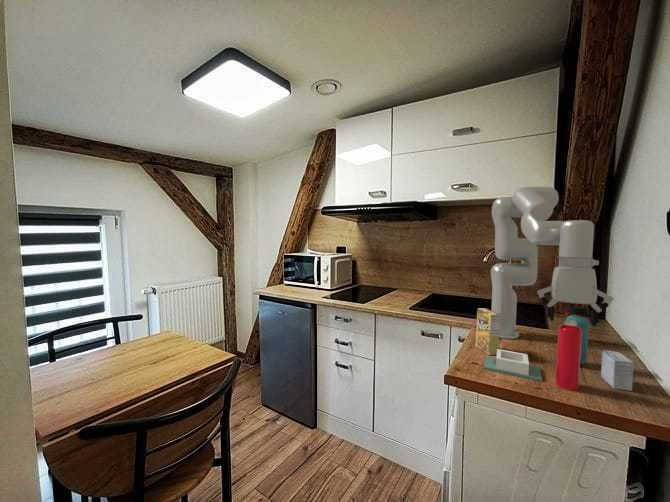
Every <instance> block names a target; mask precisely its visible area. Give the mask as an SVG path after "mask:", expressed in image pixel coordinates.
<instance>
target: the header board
mask: <svg viewBox="0 0 670 502" xmlns="http://www.w3.org/2000/svg"><path fill="white" fill-rule="evenodd" d="M483 370H486V371H492V372H495V373H496V372H497V373H501V374H504V375H510V376H514V377H517V378H518V377H519V378H523V379H529V380H533V381H538V382H541V383H542V382H543V376H542V371H541V368H540V366H538V365H534V364H530V361H529V357H528V353H523V352H522V353H521V352H515V351H511V350H506V349H497V355H493V356H490V355H485V356H484V362H483Z"/></svg>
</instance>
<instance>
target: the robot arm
mask: <svg viewBox="0 0 670 502" xmlns="http://www.w3.org/2000/svg"><path fill="white" fill-rule="evenodd" d="M559 199H560V197H559V193H558V191H557V190H556V189H555V188H553V187H552V186H551V187H550V186H524V187H521V188H518V189H517V190H515V191H514V193H513V194H512V196H503V197H499V198H497V199H495V200H494V201H493V203H492V205H491V217H492V221H493V224H494V230H495V231H494V233H495V234H494V255H495V257H496V258H497V259H499V260H503V261H504V260H505V261H520V262H521V263H517V262H516V263H515V262H512V263H511V262H502V263H501V262H498V263H495V264H494V265H493V266H491V269H490V279H491V288H492V289H491V291H492V292H491V309H490V310H491V311H493V312H496V313H498V314H500V315H501V317H500V333H499V339H500V338H501V339H509V340H515V339H519V337H520V333H519V332H518V331H517V330H516V322H517V305H518V302H517V301H518V297H517V293H516V292H515V290H514V289H513V287H512V286H526V287H527V286H532V285H534V284H535V283H536V281H537V279H538V261H539V260H538V255H539V253H538V252H539V251H538V250H539V249H538V246H559V248H558V265H557V266H555V267H554V269H553V272H552V279H551V285H549V286H547V287H544V288H541V289H538V290H537V291H536V293H537V295H538V297H539V299H540V300H541V301H542V303H544V304H545V305H546V309H547V310H546V311H547V312H546V317H547V318H548V319H549V321H551V322H553V321H554V319H555V307H554V305H555V304H556V303H558V302H559V303H566V304H568V303H569V304H579V305H589V306H591V308H592V309H591V310H590V320H589V324H590V325H591V326H593V327H597V324H599V323H600V313H602V312H603V310H605V309H606V308H608V307H609V306H610V305H611V303H612V302H613V301H614V299H615V298H614V297H613V296H611V295H610V294H607V293H605V292H602V291H601V290H599V289H598V287H597V286H598V284H597V275H596V270H595V268H593V267H594V266H599V265H600V261H599V259H598V260H595V259H594V258H593V250H594V247H593V246H594V235H595V234H594V233H595V231H594V230H595V225H594V223H593V222H592V221H590V220H586V219H585V220H584V219H579V220H578V219H577V220H576V219H575V220H565V221H564V220H548V219H549V218H550V217H551V216H552V214H553V213H554V208H555V207H556V206H557V205H558V203H559ZM512 218H520V219H521V220H520V229H521V233H522V234H523V235H524V238H522V237H521V238H519V237H518V233H519V232H518V229H519V228H518V226H517V224H516V222H515V221H514V220H513V219H512ZM537 245H538V246H537ZM549 292H550V297H551V298H549V299H547V297H545V294H546V293H549ZM598 296H599V297H601V298H603V301H602V302H600V303H599V304H597V301H598Z"/></svg>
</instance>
